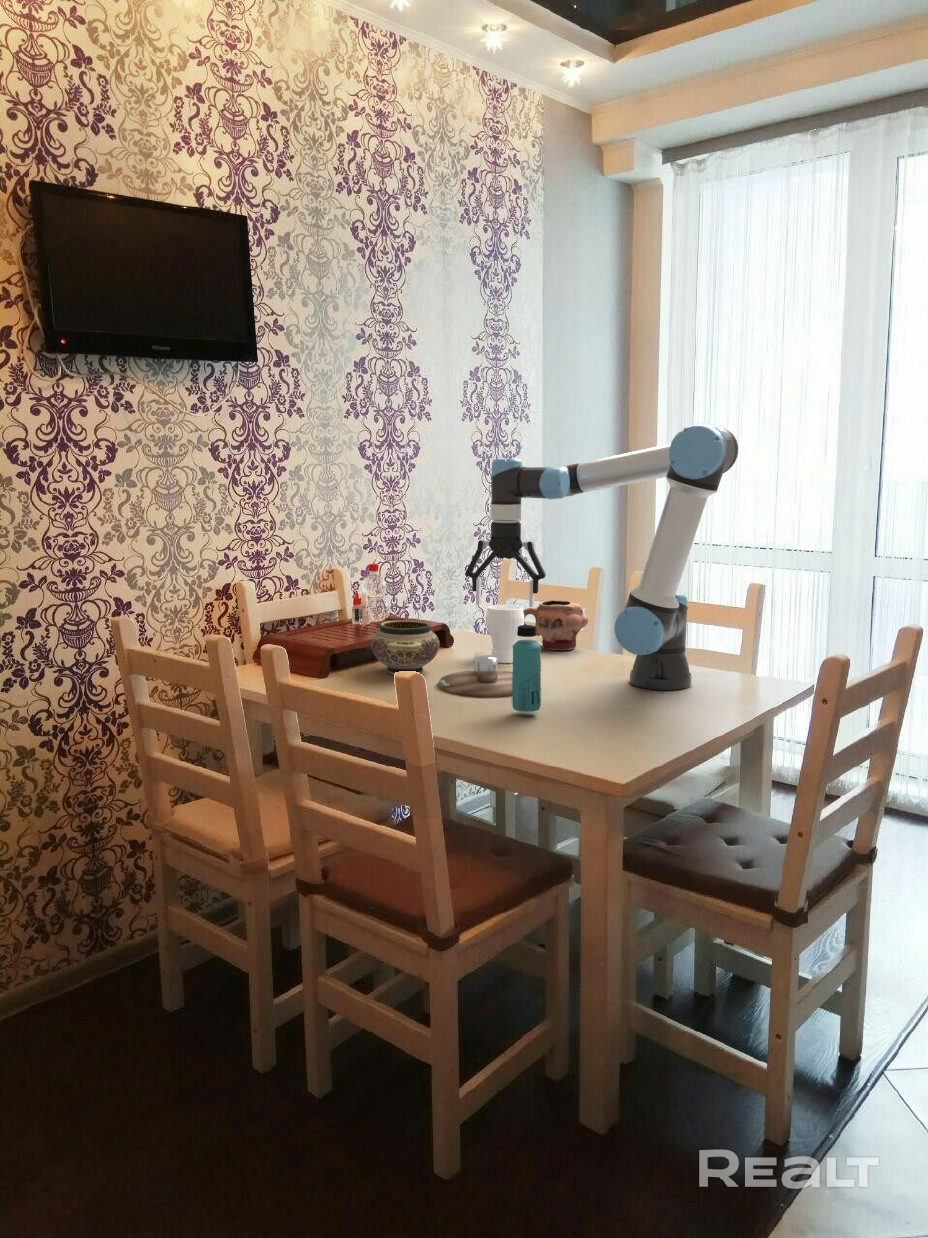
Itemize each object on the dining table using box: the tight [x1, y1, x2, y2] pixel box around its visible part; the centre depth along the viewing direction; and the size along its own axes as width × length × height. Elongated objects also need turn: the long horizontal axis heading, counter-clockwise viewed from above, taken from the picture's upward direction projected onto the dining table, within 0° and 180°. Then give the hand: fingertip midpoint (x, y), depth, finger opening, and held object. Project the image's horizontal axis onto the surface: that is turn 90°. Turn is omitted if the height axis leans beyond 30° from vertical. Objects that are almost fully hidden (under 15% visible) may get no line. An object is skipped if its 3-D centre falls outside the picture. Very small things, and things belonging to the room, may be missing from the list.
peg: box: [473, 651, 499, 683], centre depth 236 cm, size 15×5×6 cm, turn 11°
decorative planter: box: [523, 600, 589, 651], centre depth 275 cm, size 20×12×14 cm, turn 86°
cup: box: [485, 603, 525, 664], centre depth 258 cm, size 11×11×15 cm
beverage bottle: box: [511, 624, 542, 713], centre depth 204 cm, size 6×7×20 cm
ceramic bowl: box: [370, 619, 441, 675], centre depth 245 cm, size 24×18×15 cm
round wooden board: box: [438, 669, 513, 698], centre depth 232 cm, size 24×24×1 cm
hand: (505, 605), depth 237 cm, fingers open, 13 cm apart
